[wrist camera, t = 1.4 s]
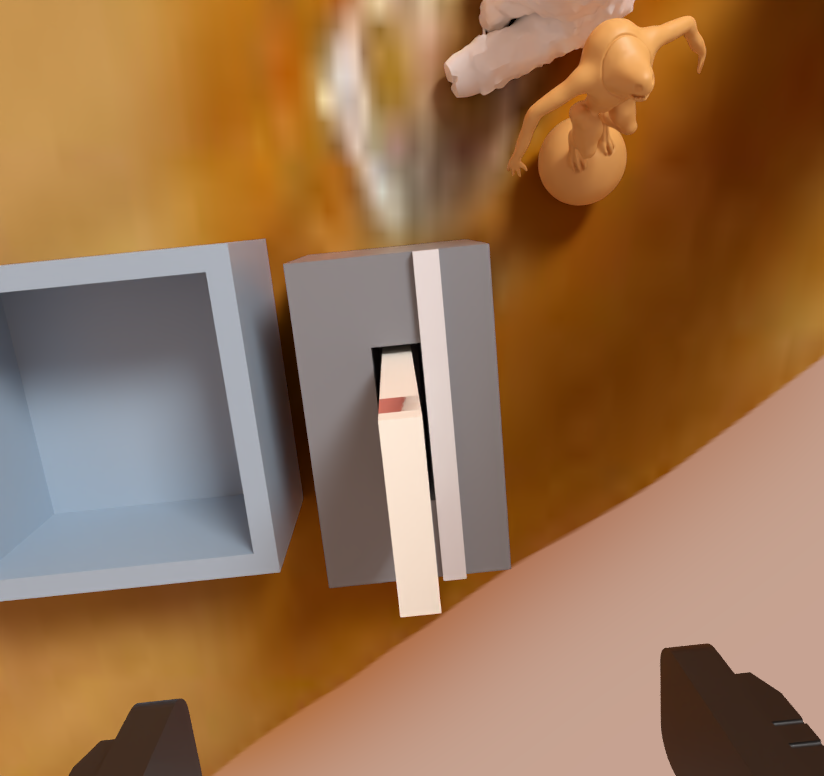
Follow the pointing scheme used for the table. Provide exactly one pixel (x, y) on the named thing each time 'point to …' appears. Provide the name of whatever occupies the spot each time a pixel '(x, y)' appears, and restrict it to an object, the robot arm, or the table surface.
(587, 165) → the figurine
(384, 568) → the dispenser
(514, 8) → the white creature statuette
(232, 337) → the bin
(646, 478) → the table surface
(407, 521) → the ticket
